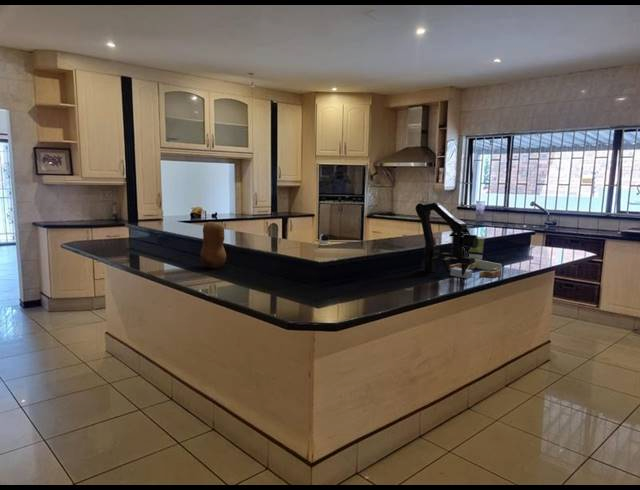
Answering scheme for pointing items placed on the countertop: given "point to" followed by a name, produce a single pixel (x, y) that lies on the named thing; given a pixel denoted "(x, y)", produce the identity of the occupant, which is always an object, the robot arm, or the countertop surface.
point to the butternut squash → (213, 245)
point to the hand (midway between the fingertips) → (455, 273)
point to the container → (324, 239)
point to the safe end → (487, 265)
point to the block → (458, 272)
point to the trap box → (493, 273)
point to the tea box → (477, 250)
